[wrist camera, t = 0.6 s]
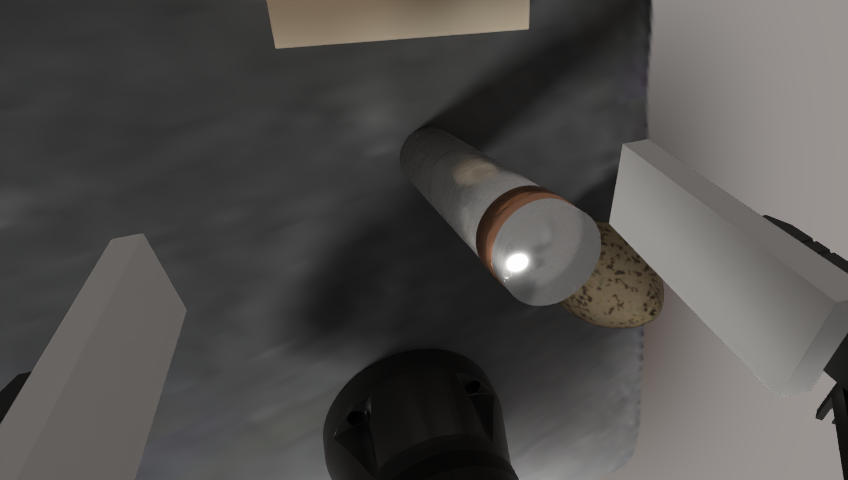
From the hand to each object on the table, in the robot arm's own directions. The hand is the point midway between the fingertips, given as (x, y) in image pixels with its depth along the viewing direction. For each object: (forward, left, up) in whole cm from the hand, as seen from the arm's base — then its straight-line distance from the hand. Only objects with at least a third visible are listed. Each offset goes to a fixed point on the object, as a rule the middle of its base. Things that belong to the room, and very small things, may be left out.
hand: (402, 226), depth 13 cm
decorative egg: (-12, -17, -18) cm, 27 cm away
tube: (-3, -6, -18) cm, 19 cm away
